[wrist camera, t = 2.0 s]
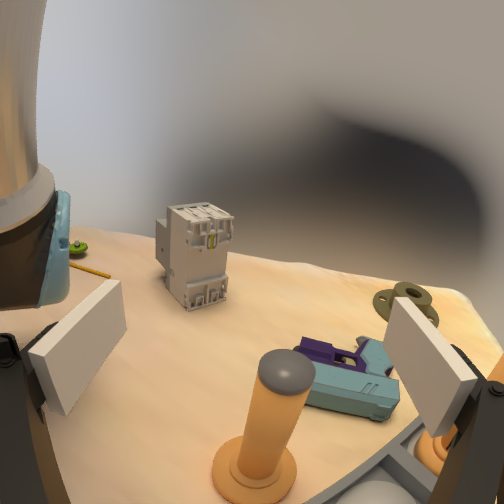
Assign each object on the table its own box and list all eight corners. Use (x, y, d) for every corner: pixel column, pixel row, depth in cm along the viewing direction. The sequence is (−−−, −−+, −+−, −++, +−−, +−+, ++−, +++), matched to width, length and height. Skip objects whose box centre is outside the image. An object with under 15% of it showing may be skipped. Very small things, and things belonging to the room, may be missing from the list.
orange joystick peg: (238, 520, 20) (270, 441, 13) (198, 459, 26) (201, 345, 19) (307, 485, 25) (373, 384, 18) (264, 433, 30) (298, 317, 24)
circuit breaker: (186, 264, 64) (190, 192, 57) (225, 300, 54) (235, 217, 48) (152, 271, 59) (152, 196, 53) (187, 311, 49) (191, 223, 43)
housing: (364, 591, 12) (382, 588, 11) (290, 515, 21) (299, 505, 20) (484, 457, 25) (499, 442, 23) (427, 411, 34) (439, 394, 32)
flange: (387, 267, 65) (370, 293, 53) (447, 291, 58) (444, 324, 46) (381, 285, 67) (363, 315, 55) (439, 309, 60) (433, 345, 48)
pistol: (388, 356, 45) (392, 427, 32) (297, 334, 49) (275, 402, 35) (397, 336, 44) (406, 407, 30) (303, 313, 47) (282, 380, 34)
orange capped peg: (445, 493, 21) (546, 393, 14) (401, 454, 26) (482, 346, 20) (474, 454, 25) (555, 354, 18) (434, 421, 31) (502, 317, 24)
